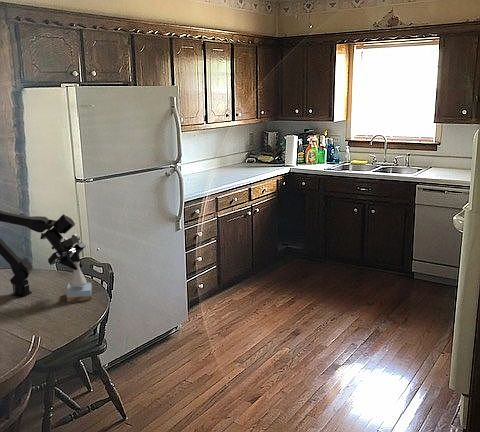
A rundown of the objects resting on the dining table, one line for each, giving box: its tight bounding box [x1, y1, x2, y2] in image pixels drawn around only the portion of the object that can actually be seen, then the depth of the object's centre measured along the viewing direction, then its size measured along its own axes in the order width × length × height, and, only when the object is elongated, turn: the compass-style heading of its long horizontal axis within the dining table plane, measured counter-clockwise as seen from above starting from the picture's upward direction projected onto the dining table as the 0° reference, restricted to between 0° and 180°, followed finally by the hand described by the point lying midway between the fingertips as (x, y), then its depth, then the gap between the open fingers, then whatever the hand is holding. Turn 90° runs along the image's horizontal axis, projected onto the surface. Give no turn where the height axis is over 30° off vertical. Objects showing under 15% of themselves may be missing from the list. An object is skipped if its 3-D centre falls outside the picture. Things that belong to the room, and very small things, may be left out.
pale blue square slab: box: [65, 282, 93, 299], centre depth 235 cm, size 10×10×2 cm
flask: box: [69, 262, 88, 287], centre depth 232 cm, size 7×7×10 cm
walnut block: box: [66, 295, 92, 303], centre depth 235 cm, size 10×10×2 cm
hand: (79, 268), depth 231 cm, fingers closed on flask, 3 cm apart
